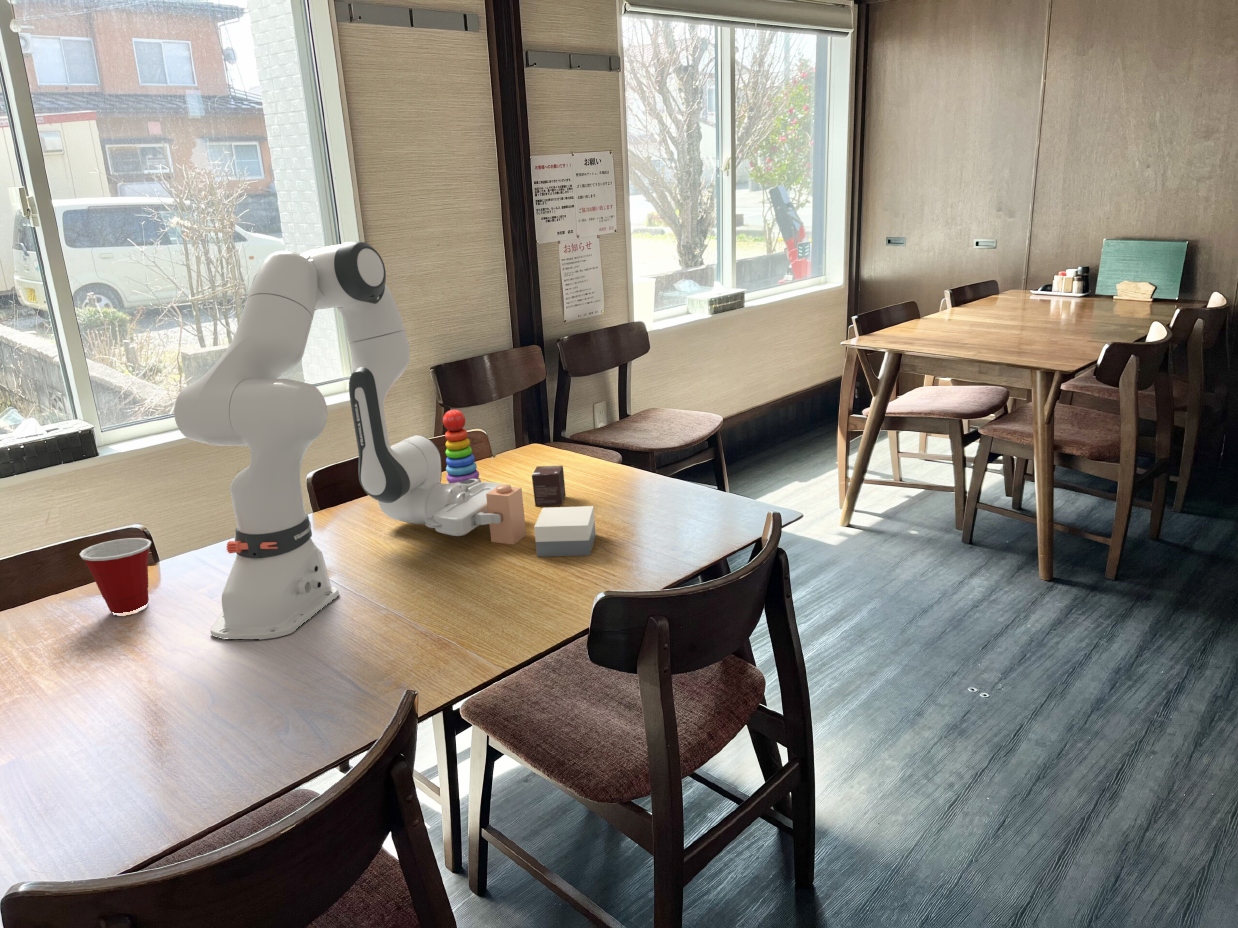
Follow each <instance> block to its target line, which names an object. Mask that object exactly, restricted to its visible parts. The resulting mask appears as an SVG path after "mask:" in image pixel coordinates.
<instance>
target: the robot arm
mask: <svg viewBox="0 0 1238 928" xmlns="http://www.w3.org/2000/svg"><path fill="white" fill-rule="evenodd" d="M386 281H387V271H386V267H385V264H384V260H383V258H382V257H381V255H380V254H379V252H378V251H377V250H376V249H375V248H374V246H372V245H371V244H369V243H367V242H366V241H365V242H364V241H356V240H355V241H353V240H352V241H344V242H343V243H341V244H333V245H328V246H320V247H319V246H318V247H316V248H313V249H310V250H308V251H305V252H302V253H301V254H300V253H297V252H293V251H289V250H279V251H275V252H273V253H271V254H268V256H267V257H265V259H264V261H263V262H262V264H261V266H260V268H259V269H258V271H257V273H256V275H255V276H254V279H253V281H252V283H251V286H250V289H249V291H248V294H247V297H246V301H245V304H244V308H243V310H242V313H241V316H240V319H239V323H238V324H237V328H236V331H235V334H234V336H233V337H232V339H231V341H230V344H229V345H228V346H227V348H226V350H225V351H224V352H223V354H221V357H219V359H218V360H217V361H216V362H215V364H213V366H212V367H210V369H209V370H208V371H207V372H206V373H205V374H203V375H202V376H201V377H200V378H199V379H196V380H195V381H194V382H192V383H190V384H188V385H187V386H185V387H183V388H182V389H181V391H179V393H178V395H177V397H176V398H175V402H174V409H173V415H174V421H175V424H176V426H177V428H178V430H179V432H180V433H181V434H182V435H183V436H184V437H185V438H186V439H187V440H191V441H195V442H198V443H203V444H207V445H211V446H222V447H223V446H224V447H226V446H228V447H230V446H232V447H233V446H234V447H235V446H237V447H248V449H249V451H250V462H249V465H248V466H247V467H245V468H243V469H242V470H241V471H239V472H238V473H237V474H236V475H235V477H234V478H233V480H232V482H231V484H230V488H229V492H230V497H231V502H232V508H233V512H234V517H235V522H236V527H235V536H234V541H233V540H229V541H227V543H226V552H227V553H228V554H236V555H235V556H236V557H235V560H234V561H233V562H234V563H233V564H232V567H231V569H230V571H229V575H228V577H227V580H226V583H225V586H224V588H223V591H222V594H221V607H222V611H221V613H220V614H219V616H218V618H217V619H216V620H215V622H214V624H213V625H212V626H211V629H210V635H211V634H212V635H214V636H217V637H221V638H228V639H259V640H266V639H275V638H280V637H283V636H287V635H290V634H292V633H293V632H295V631H297V630H298V629H299V628H300V627H302V626H303V625H304V624H305V623H306V621H307V620H308V619H309V620H310V619H312V618H313V617H314V616H315V615H316V614H318V613H319V612H320V611H321V610H323V609H324V608H325V607H326V606H328V605H329V604H330V603H331V602H333V601H334V600H335V599H337V598H338V597H339V596H340V592H339V589H338V588H337V587H335V586H333V585H331V581H330V577H329V572H328V569H327V565H326V562H325V559H324V558H325V557H324V555H323V551H322V550H321V549H320V548H319V547H318V546H317V545H316V544H315V543H314V541H313V539H312V536H313V532H312V523H311V521H310V517H309V515H308V514H307V513H306V510H305V504H304V503H305V502H304V497H303V490H302V489H303V487H302V480H301V478H302V477H301V472H302V464H303V460H304V457H305V454H306V452H307V451H308V449H309V448H310V446H311V445H312V444H313V443H314V442H315V440H317V439H319V437H320V436H321V434H322V433H323V432H324V429H325V427H326V424H327V421H328V405H327V402H326V400H325V398H324V396H323V394H322V392H321V391H320V390H319V389H318V388H317V386H316V385H314V384H311V383H307V382H305V381H300V380H294V379H290V378H289V379H288V378H279V377H281V376H282V375H284V374H285V373H287V372H288V371H290V370H292V369H293V368H295V367H296V366H297V365H298V364H299V363H300V362H301V361H302V359H303V357H304V355H305V350H306V346H307V343H308V338H309V334H310V332H311V328H312V323H313V321H314V316H315V311H318V310H326V309H327V310H328V309H334V308H336V309H337V310H338V311H339V312H340V313H341V315H342V318H343V325H344V328H345V332H346V336H347V341H348V345H349V349H350V352H351V353H350V354H351V362H352V363H351V374H350V377H349V381H348V391H349V392H348V393H349V401H350V408H351V414H352V422H353V427H354V432H355V438H356V440H355V441H356V446H357V451H358V452H357V453H358V480H359V484H360V486H361V488H362V489H363V491H364V492H365V493H366V494H367V496H369V497H371V498H372V499H374V500H375V501H378V502H377V503H378V505H379V508H380V510H381V511H382V513H383V514H384V515H386V516H387V517H388V518H390V519H392V520H394V521H398V522H402V523H408V524H414V525H425V526H426V528H427V527H428V528H431V529H433V528H434V529H435V532H437V533H439V534H440V533H441V534H443V535H448V536H454V537H461V536H465V535H467V534H468V533H470V532H471V531H473V530H474V529H476V528H477V527H479V526H483V525H484V526H485V525H490V524H491V523H495V524H499V523H500V522H502V521H503V514H502V513H498V512H494V513H488V507H487V498H486V494H487V493H488V492H490V491H492V490H493V489H495V488H496V487H497V486H499V485H503V484H504V483H498V482H493V481H492V482H491V481H481V483H479V480H478V479H469V480H465V481H462V482H458V483H449V484H447V483H441V482H442V477H443V476H442V457H441V452H440V450H439V448H438V446H437V445H436V444H435V442H434V441H432V440H431V439H429V438H428V437H426V436H424V435H420V434H419V435H418V434H415V435H411V436H410V437H407V438H405V439H402V440H401V441H398V442H396V443H395V444H393V445H391V444H390V441H389V440H390V439H389V434H388V433H389V432H388V427H387V421H386V415H385V403H386V402H385V401H386V397H387V395H388V394H389V391H390V389H391V388H392V387H393V385H394V384H396V382H397V381H398V379H399V378H400V377H402V376H403V374H404V372H405V371H406V370H407V368H408V365H409V364H410V361H411V354H410V353H411V352H410V351H411V350H410V349H411V348H410V343H409V340H408V339H409V338H408V336H407V332H406V330H405V329H406V328H405V326H404V321H403V319H402V315H401V313H400V311H399V308H398V306H397V303H396V301H395V299H394V297H393V294H392V292H391V290H390V288H389V287H388V285H387V284H386ZM338 595H339V596H338ZM337 596H338V597H337ZM333 599H334V600H333ZM332 600H333V601H332ZM328 603H329V604H328ZM327 604H328V605H327ZM325 605H326V606H325ZM324 606H325V607H324ZM323 607H324V608H323ZM322 608H323V609H322ZM320 609H321V610H320ZM319 610H320V611H319ZM318 611H319V612H318ZM317 612H318V613H317ZM315 613H316V614H315ZM314 614H315V615H314ZM313 615H314V616H313ZM312 616H313V617H312ZM311 617H312V618H311ZM309 620H308V621H309ZM308 621H307V622H308ZM304 622H305V623H304ZM303 623H304V624H303ZM302 624H303V625H302ZM301 625H302V626H301ZM299 626H300V627H299ZM298 627H299V628H298ZM297 628H298V629H297ZM296 629H297V630H296Z"/></svg>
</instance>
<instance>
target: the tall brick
mask: <svg viewBox="0 0 1238 928" xmlns="http://www.w3.org/2000/svg"><path fill="white" fill-rule="evenodd" d="M502 484H503V485H499V486H497V487H496V488H495V489H493V490H492V491H490V492H488V493H487V494H486V498H487V507H488V513H494V512H498V513H502V514H503V521H502V522H500V523H499V524H495V523H491V524H489V530H490V531H489V534H490V539H491V543H499V544H505V545H514V546H515V544H516V543H518V542H519V541H520V540H522V539H523V538H525V537H526V536H527V529H526V519H525V510H524V509H525V508H524V497H523V489H522V487H517V486H512V485H510V484H507V483H506V484H505V483H502Z"/></svg>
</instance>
